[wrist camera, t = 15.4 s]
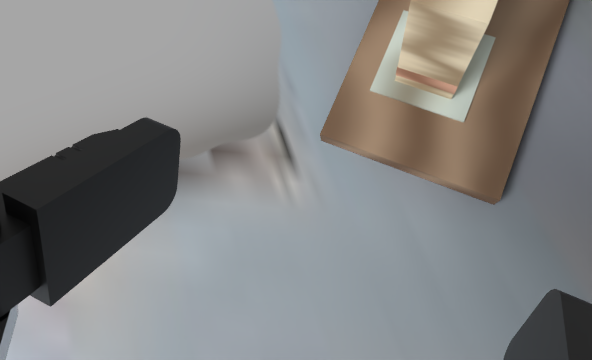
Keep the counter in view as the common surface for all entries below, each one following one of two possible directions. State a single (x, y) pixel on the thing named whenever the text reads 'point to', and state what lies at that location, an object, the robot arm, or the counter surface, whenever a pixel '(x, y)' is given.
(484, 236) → the counter surface
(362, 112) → the seat board
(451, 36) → the maple link block
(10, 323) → the robot arm
